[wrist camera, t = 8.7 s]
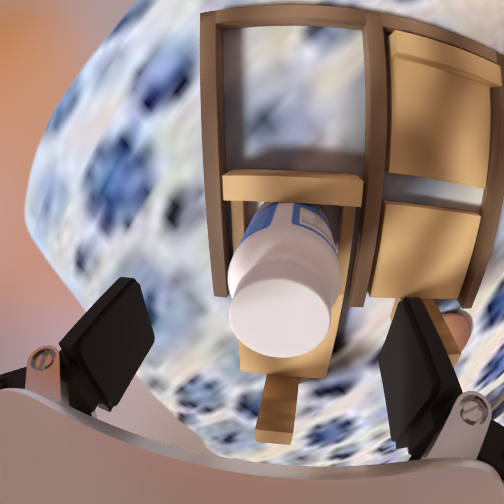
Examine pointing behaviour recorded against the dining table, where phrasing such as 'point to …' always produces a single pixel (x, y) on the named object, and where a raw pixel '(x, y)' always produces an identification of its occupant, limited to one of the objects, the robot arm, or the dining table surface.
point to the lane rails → (381, 122)
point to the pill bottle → (284, 280)
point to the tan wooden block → (424, 258)
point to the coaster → (458, 328)
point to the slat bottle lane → (317, 360)
